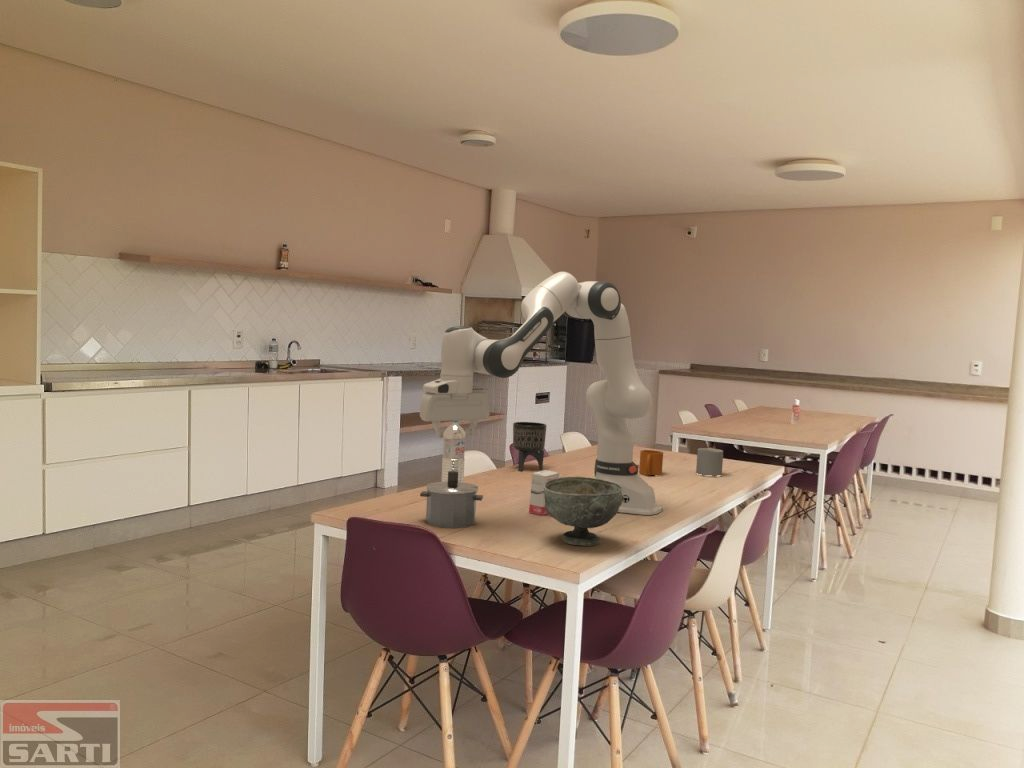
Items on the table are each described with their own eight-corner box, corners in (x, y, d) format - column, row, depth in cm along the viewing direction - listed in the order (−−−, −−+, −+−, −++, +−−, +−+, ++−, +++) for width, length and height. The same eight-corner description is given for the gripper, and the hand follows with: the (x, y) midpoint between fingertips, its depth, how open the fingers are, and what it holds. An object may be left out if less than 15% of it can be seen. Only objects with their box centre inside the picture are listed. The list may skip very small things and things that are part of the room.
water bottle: (445, 502, 239) (449, 420, 238) (437, 497, 245) (440, 418, 244) (466, 501, 242) (470, 420, 241) (457, 496, 248) (460, 417, 247)
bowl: (531, 545, 196) (534, 485, 195) (555, 528, 214) (558, 473, 213) (608, 556, 189) (612, 494, 188) (626, 538, 207) (629, 482, 206)
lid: (485, 491, 219) (486, 470, 219) (466, 500, 206) (467, 478, 206) (439, 485, 224) (440, 465, 223) (417, 494, 210) (418, 473, 210)
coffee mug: (717, 478, 307) (719, 452, 306) (692, 474, 311) (694, 449, 311) (726, 473, 318) (728, 449, 317) (702, 470, 323) (704, 446, 322)
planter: (533, 473, 296) (535, 426, 295) (504, 469, 303) (506, 423, 302) (550, 469, 307) (552, 424, 306) (522, 465, 314) (524, 421, 313)
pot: (484, 518, 221) (485, 486, 220) (477, 529, 208) (479, 496, 207) (425, 514, 223) (426, 482, 222) (415, 525, 210) (416, 491, 209)
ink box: (543, 516, 228) (545, 475, 227) (528, 513, 231) (530, 473, 230) (557, 511, 235) (559, 471, 234) (543, 508, 238) (545, 469, 237)
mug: (632, 475, 304) (633, 452, 304) (644, 471, 314) (645, 449, 314) (653, 478, 300) (655, 454, 299) (665, 474, 310) (666, 451, 309)
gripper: (482, 384, 221) (480, 433, 222) (417, 385, 210) (416, 436, 211) (495, 386, 216) (493, 436, 217) (429, 387, 205) (427, 440, 206)
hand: (454, 436), depth 214 cm, fingers open, 8 cm apart
